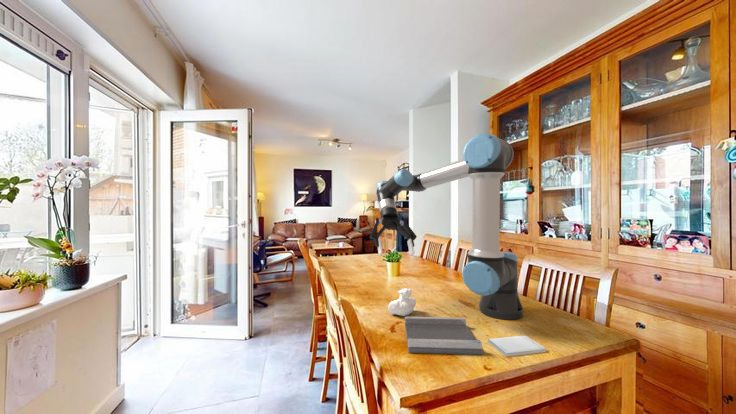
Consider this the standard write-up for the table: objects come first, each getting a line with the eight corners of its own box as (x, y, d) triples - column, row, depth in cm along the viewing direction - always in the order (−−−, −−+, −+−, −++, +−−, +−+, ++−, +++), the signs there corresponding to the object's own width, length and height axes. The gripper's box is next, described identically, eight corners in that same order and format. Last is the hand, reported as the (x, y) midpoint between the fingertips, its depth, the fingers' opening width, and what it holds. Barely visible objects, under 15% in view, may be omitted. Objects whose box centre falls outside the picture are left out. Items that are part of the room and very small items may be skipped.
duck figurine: (390, 323, 100) (400, 305, 93) (381, 305, 105) (390, 287, 99) (416, 317, 105) (427, 299, 99) (407, 300, 110) (417, 282, 104)
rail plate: (464, 325, 92) (464, 317, 92) (482, 354, 74) (482, 343, 74) (404, 324, 93) (404, 315, 93) (408, 352, 75) (408, 342, 75)
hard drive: (505, 352, 73) (546, 347, 75) (487, 338, 81) (524, 334, 83) (506, 358, 73) (546, 353, 75) (487, 343, 81) (524, 339, 83)
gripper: (410, 217, 127) (421, 258, 115) (359, 214, 120) (364, 258, 108) (417, 207, 121) (428, 250, 109) (363, 204, 115) (369, 249, 102)
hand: (396, 254), depth 108 cm, fingers open, 13 cm apart
